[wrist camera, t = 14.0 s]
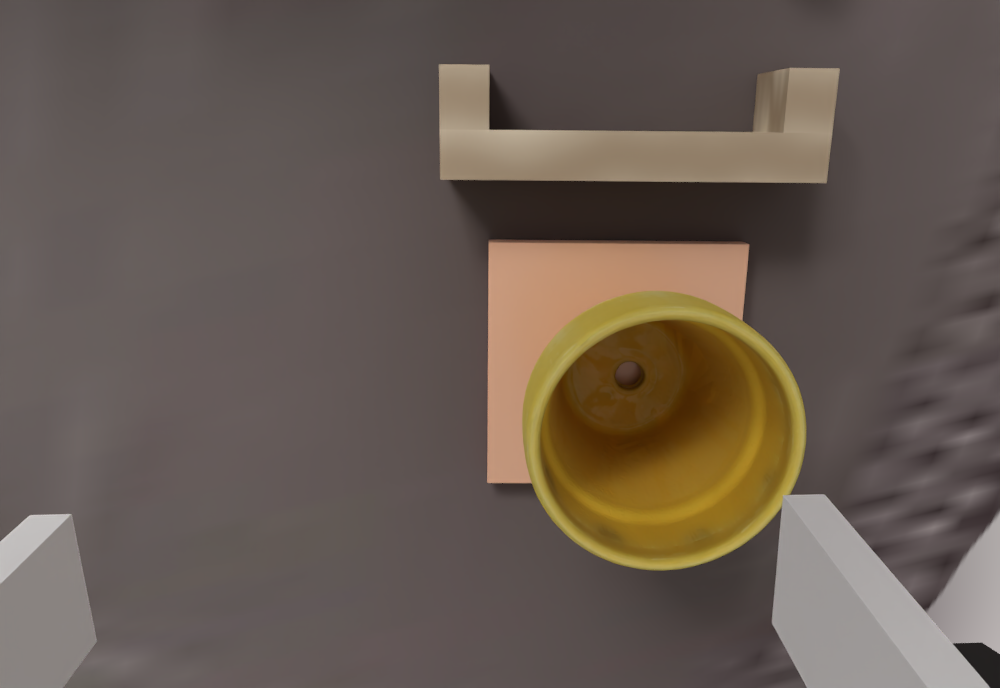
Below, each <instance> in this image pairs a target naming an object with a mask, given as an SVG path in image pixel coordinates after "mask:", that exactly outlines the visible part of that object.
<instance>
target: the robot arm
mask: <svg viewBox="0 0 1000 688" xmlns="http://www.w3.org/2000/svg"><path fill="white" fill-rule="evenodd" d="M772 624H773V626H774V628H775V630H776V632H777V633H778V635H779V637H780V639H781V641H782V643H783V644H784V646H785V648H786V650H787V652H788V654H789V655H790V657H791V659H792V661H793V663H794V665H795V667H796V668H797V670H798V672H799V674H800V676H801V678H802V679H803V681H804V683H805V685H806V687H807V688H1000V654H998V653H997V652H995V651H994V650H992V649H991V648H989V647H987V646H986V645H984V644H983V643H958V644H957V643H956V644H952V642H951V641H950V640H949V639H948V638H947V637H946V636H945V634H944V633H943V632H942V631H941V630H940V628H939V627H938V626H937V625H936V624H935V623H934V621H932V619H931V618H930V617H929V616H928V614H927V613H926V612H925V611H924V610H923V609H922V607H921V606H920V605H919V604H918V603H917V602H916V600H915V599H914V598H913V597H912V596H911V595H910V593H909V592H908V591H907V590H906V589H905V588H904V586H903V585H902V584H901V583H900V582H899V581H898V579H897V578H896V577H895V576H894V575H893V574H892V572H891V571H890V570H889V569H888V568H887V567H886V565H885V564H884V563H883V562H882V561H881V560H880V558H879V557H878V556H877V555H876V554H875V553H874V551H873V550H872V549H871V548H870V547H869V546H868V544H867V543H866V542H865V541H864V540H863V539H862V537H861V536H860V535H859V534H858V533H857V532H856V530H855V529H854V528H853V527H852V526H851V525H850V523H849V522H848V521H847V520H846V519H845V518H844V516H843V515H842V514H841V513H840V512H839V511H838V509H837V508H836V507H835V506H834V505H833V504H832V502H831V501H830V500H829V499H828V498H827V497H826V496H825V494H811V495H783V501H782V513H781V524H780V535H779V547H778V558H777V569H776V580H775V592H774V603H773V614H772ZM96 642H97V639H96V634H95V629H94V624H93V619H92V614H91V609H90V604H89V599H88V594H87V589H86V584H85V579H84V574H83V569H82V564H81V559H80V554H79V549H78V544H77V539H76V534H75V529H74V524H73V519H72V514H57V515H30V516H28V517H27V518H26V519H25V520H24V521H23V522H22V523H21V524H20V525H18V526H17V527H16V528H15V529H14V530H13V531H12V532H11V533H9V534H8V535H7V536H6V537H5V538H4V539H3V540H2V541H1V542H0V688H63V687H64V686H65V684H66V683H67V682H68V680H69V679H70V677H71V676H72V675H73V673H74V672H75V671H76V669H77V668H78V667H79V665H80V664H81V662H82V661H83V660H84V658H85V657H86V656H87V654H88V653H89V651H90V650H91V649H92V647H93V646H94V645H95V643H96Z"/></svg>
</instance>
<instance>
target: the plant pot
mask: <svg viewBox="0 0 1000 688" xmlns="http://www.w3.org/2000/svg"><path fill="white" fill-rule="evenodd" d="M625 362H634V363H636V364H637V365H638V366H639V367H640V370H641V376H640V379H639V380H638V381H637V382H636V383H635V384H633V385H623V384H620V383H619V382H618V381H617V379H616V377H615V374H616V371H617V369H618V368H619V366H620V365H621V364H623V363H625ZM522 434H523V445H524V452H525V459H526V464H527V468H528V472H529V476H530V479H531V482H532V485H533V488H534V490H535V492H536V495H537V497H538V499H539V501H540V502H541V504H542V506H543V507H544V509H545V510H546V512H547V513H548V515H549V516H550V518H551V519H552V520H553V522H554V523H555V524H556V525H557V526H558V527H559V528H560V529H561V530H562V531H563V532H564V533H565V534H566V535H567V536H568V537H569V538H570V539H571V540H573V541H574V542H575V543H577V544H578V545H579V546H581V547H582V548H584V549H586V550H587V551H589V552H591V553H592V554H594V555H596V556H598V557H601V558H603V559H605V560H608V561H610V562H613V563H615V564H619V565H622V566H627V567H632V568H637V569H644V570H662V571H663V570H676V569H683V568H688V567H693V566H697V565H700V564H704V563H707V562H710V561H712V560H715V559H717V558H719V557H722V556H724V555H726V554H728V553H730V552H732V551H734V550H735V549H737V548H739V547H740V546H742V545H743V544H745V543H746V542H748V541H749V540H750V539H751V538H753V537H754V536H755V535H756V534H758V533H759V532H760V531H761V530H762V529H763V528H764V527H765V526H766V525H767V524H768V523H769V522H770V521H771V520H772V519H773V518H774V517H775V515H776V514H777V513H778V512H779V510H780V509H781V507H782V501H783V495H790V494H791V492H792V490H793V488H794V485H795V483H796V481H797V478H798V476H799V473H800V470H801V466H802V463H803V458H804V453H805V446H806V418H805V410H804V405H803V400H802V397H801V393H800V390H799V387H798V385H797V383H796V380H795V378H794V376H793V374H792V372H791V371H790V369H789V367H788V366H787V364H786V363H785V361H784V360H783V358H782V357H781V356H780V354H779V353H778V352H777V351H776V349H775V348H774V347H773V346H772V345H771V344H770V343H769V342H768V341H767V340H766V339H765V338H764V337H762V336H761V335H760V334H759V333H758V332H756V331H755V330H754V329H753V328H751V327H750V326H749V325H747V324H746V323H745V322H743V321H742V320H740V319H739V318H737V317H736V316H734V315H733V314H731V313H729V312H728V311H726V310H724V309H722V308H720V307H718V306H716V305H714V304H712V303H710V302H708V301H706V300H703V299H700V298H698V297H694V296H691V295H687V294H682V293H677V292H670V291H642V292H635V293H630V294H625V295H622V296H618V297H615V298H612V299H609V300H606V301H604V302H601V303H599V304H597V305H595V306H593V307H591V308H589V309H588V310H586V311H584V312H583V313H581V314H580V315H578V316H577V317H576V318H574V319H573V320H571V321H570V322H569V323H568V324H566V325H565V326H564V327H563V328H562V329H561V330H560V331H559V332H558V333H557V334H556V335H555V336H554V338H553V339H552V340H551V341H550V342H549V344H548V345H547V346H546V348H545V349H544V350H543V352H542V354H541V355H540V357H539V359H538V360H537V362H536V364H535V366H534V368H533V371H532V373H531V376H530V378H529V381H528V384H527V388H526V391H525V397H524V403H523V413H522Z"/></svg>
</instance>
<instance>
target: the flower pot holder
mask: <svg viewBox="0 0 1000 688" xmlns="http://www.w3.org/2000/svg"><path fill="white" fill-rule="evenodd" d="M839 70H840V68H787V69H782V70H777V71H772V72H767V73H762V74H758V77H757V88H756V99H755V110H754V122H753V132H697V131H591V130H489V101H490V68H489V65H461V64H439V115H440V180H534V181H649V182H763V183H827V175H828V166H829V158H830V149H831V140H832V131H833V123H834V114H835V105H836V97H837V88H838V79H839Z"/></svg>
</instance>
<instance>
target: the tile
mask: <svg viewBox="0 0 1000 688" xmlns="http://www.w3.org/2000/svg"><path fill="white" fill-rule="evenodd" d="M748 254H749V244H747V243H745V242H738V241H612V240H489V270H488V455H487V483H532V482H531V479H530V476H529V472H528V468H527V464H526V459H525V452H524V445H523V434H522V413H523V403H524V397H525V391H526V388H527V384H528V381H529V378H530V376H531V373H532V371H533V368H534V366H535V364H536V362H537V360H538V359H539V357H540V355H541V354H542V352H543V350H544V349H545V348H546V346H547V345H548V344H549V342H550V341H551V340H552V339H553V338H554V336H555V335H556V334H557V333H558V332H559V331H560V330H561V329H562V328H563V327H564V326H565V325H566V324H568V323H569V322H570V321H571V320H573V319H574V318H576V317H577V316H578V315H580V314H581V313H583V312H584V311H586V310H588V309H589V308H591V307H593V306H595V305H597V304H599V303H601V302H604V301H606V300H609V299H612V298H615V297H618V296H622V295H625V294H630V293H635V292H642V291H670V292H677V293H682V294H687V295H691V296H694V297H698V298H700V299H703V300H706V301H708V302H710V303H712V304H714V305H716V306H718V307H720V308H722V309H724V310H726V311H728V312H729V313H731V314H733V315H734V316H736V317H737V318H739V319H740V320H742V319H743V308H744V298H745V287H746V276H747V265H748ZM640 376H641V370H640V367H639V366H638V365H637V364H636V363H634V362H625V363H623V364H621V365H620V366H619V368H618V369H617V371H616V374H615V377H616V379H617V381H618V382H619V383H620V384H623V385H633V384H635V383H636V382H637V381H638V380H639V379H640Z"/></svg>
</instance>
